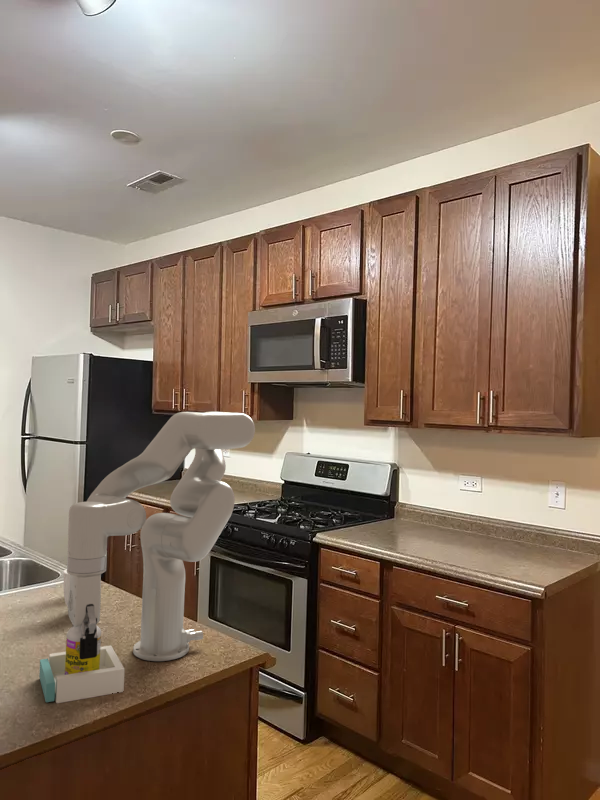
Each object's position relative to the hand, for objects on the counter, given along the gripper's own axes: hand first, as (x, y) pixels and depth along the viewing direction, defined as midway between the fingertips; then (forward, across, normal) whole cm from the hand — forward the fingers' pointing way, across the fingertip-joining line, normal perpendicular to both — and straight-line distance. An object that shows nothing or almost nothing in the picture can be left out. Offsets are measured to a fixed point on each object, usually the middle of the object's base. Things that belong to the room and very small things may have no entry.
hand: (84, 648), depth 127 cm
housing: (+7, 0, 0) cm, 7 cm away
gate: (+7, 0, -7) cm, 10 cm away
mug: (+8, -43, +6) cm, 44 cm away
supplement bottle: (+6, 0, 0) cm, 6 cm away
